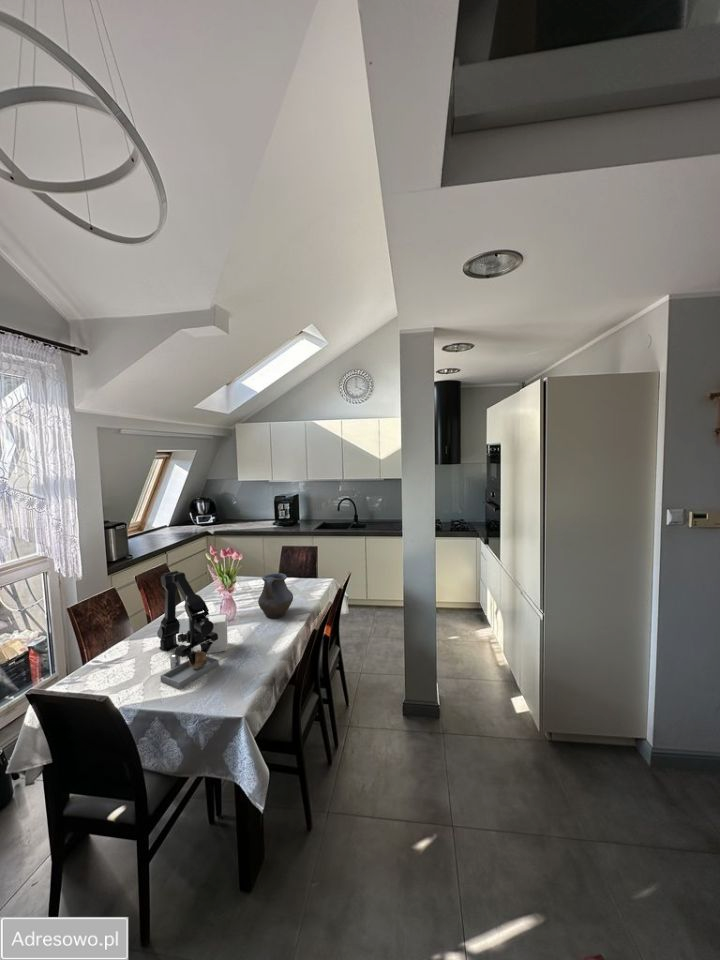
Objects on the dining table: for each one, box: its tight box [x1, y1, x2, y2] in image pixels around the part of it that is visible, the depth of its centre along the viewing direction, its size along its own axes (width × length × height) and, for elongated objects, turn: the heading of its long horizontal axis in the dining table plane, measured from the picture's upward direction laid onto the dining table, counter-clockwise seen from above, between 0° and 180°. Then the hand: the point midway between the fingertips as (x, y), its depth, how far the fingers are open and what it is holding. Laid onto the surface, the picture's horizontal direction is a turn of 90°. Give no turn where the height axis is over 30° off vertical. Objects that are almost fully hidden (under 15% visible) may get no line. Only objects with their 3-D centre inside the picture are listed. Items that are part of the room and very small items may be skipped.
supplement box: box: [207, 614, 229, 654], centre depth 190 cm, size 9×9×15 cm
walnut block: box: [188, 649, 207, 669], centre depth 172 cm, size 5×5×5 cm
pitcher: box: [257, 572, 294, 619], centre depth 228 cm, size 21×22×25 cm
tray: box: [160, 655, 220, 690], centre depth 169 cm, size 20×12×3 cm, turn 152°
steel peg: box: [169, 652, 182, 670], centre depth 174 cm, size 4×4×6 cm
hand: (198, 662), depth 172 cm, fingers open, 5 cm apart
